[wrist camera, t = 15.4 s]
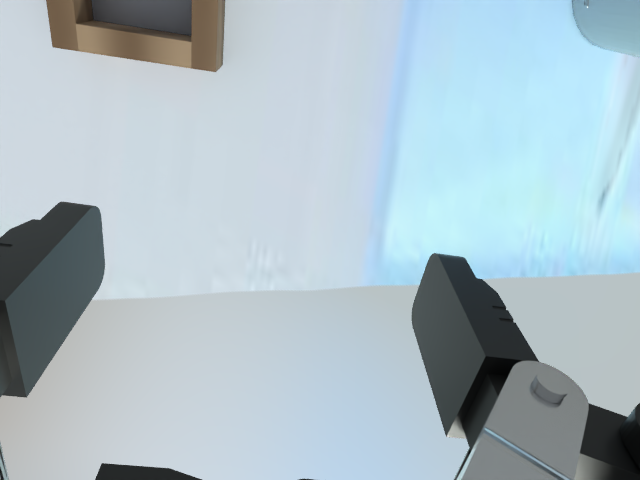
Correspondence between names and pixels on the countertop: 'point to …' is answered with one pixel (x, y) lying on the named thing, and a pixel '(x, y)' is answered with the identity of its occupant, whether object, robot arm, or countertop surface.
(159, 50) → the socket collar
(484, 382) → the robot arm
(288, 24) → the countertop surface
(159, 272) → the countertop surface
